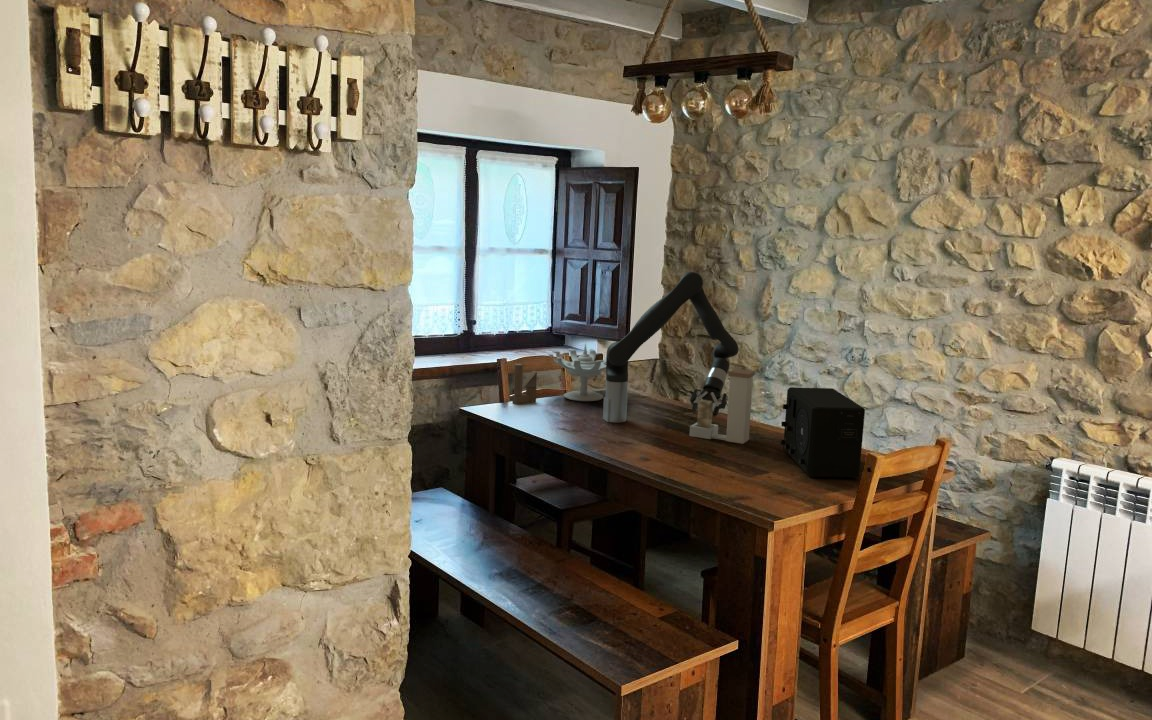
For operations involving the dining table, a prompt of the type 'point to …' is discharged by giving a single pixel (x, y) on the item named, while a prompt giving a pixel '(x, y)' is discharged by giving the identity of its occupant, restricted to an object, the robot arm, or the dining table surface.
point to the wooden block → (524, 386)
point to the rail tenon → (704, 413)
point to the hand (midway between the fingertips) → (703, 414)
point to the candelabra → (582, 372)
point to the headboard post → (733, 410)
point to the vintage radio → (823, 432)
